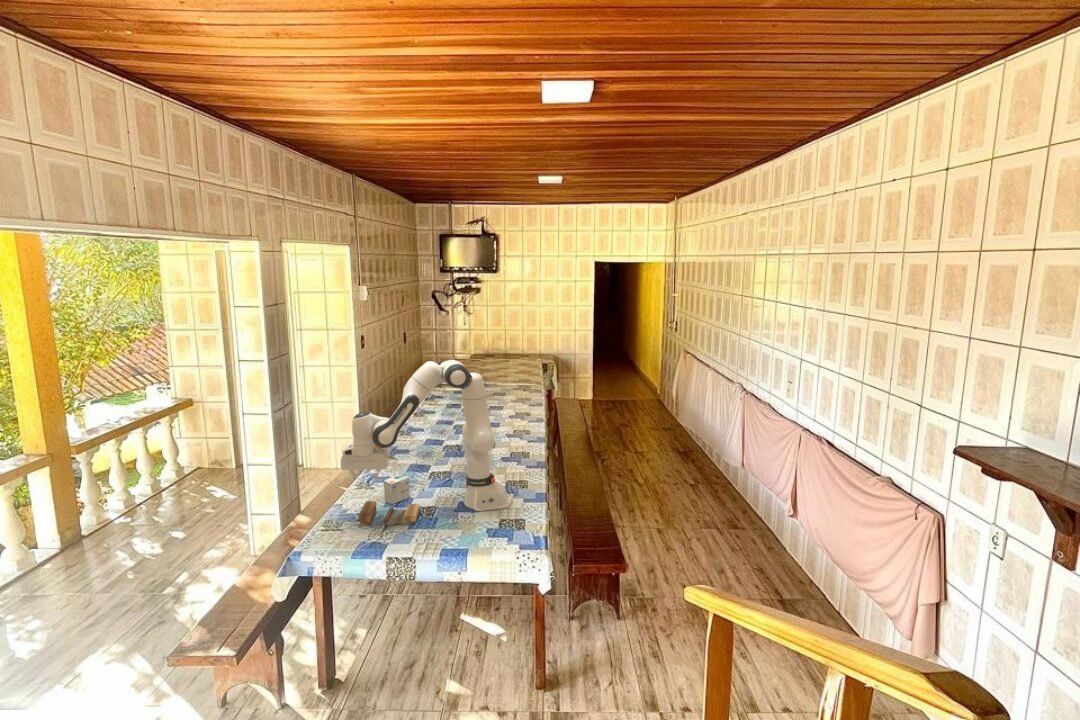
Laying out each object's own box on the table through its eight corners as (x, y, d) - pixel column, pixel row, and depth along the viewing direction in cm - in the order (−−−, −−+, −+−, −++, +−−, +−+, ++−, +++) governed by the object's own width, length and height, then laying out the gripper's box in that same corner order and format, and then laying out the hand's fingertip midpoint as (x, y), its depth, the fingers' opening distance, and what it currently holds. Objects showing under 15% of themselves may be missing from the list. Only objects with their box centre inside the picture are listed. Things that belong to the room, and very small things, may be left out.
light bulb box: (402, 493, 276) (401, 473, 274) (410, 497, 272) (409, 476, 270) (384, 501, 268) (382, 480, 266) (392, 505, 264) (391, 483, 261)
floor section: (419, 511, 257) (419, 503, 256) (415, 524, 244) (414, 516, 244) (390, 511, 256) (390, 503, 256) (384, 525, 244) (383, 517, 243)
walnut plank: (376, 513, 256) (375, 501, 254) (370, 525, 244) (369, 513, 243) (366, 513, 255) (365, 501, 254) (359, 526, 244) (359, 513, 242)
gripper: (389, 445, 247) (390, 475, 249) (342, 446, 246) (344, 475, 248) (386, 450, 241) (387, 480, 243) (338, 451, 240) (340, 481, 242)
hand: (365, 478), depth 246 cm, fingers open, 8 cm apart
